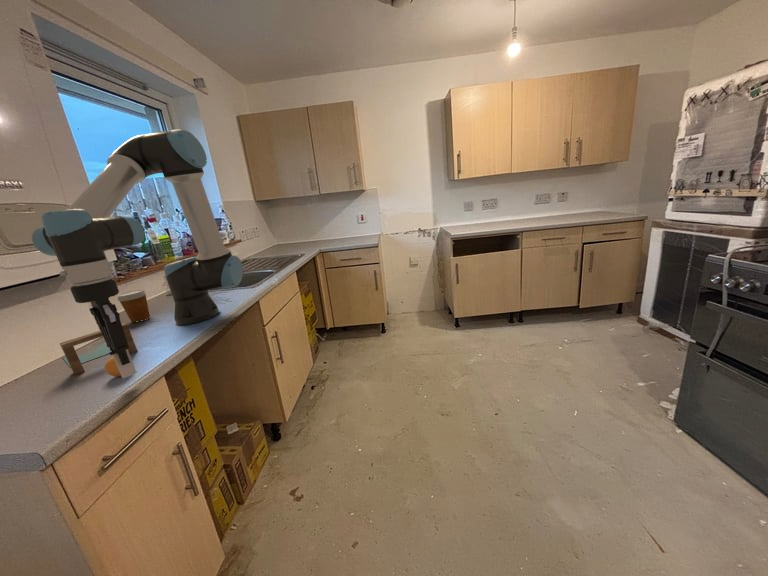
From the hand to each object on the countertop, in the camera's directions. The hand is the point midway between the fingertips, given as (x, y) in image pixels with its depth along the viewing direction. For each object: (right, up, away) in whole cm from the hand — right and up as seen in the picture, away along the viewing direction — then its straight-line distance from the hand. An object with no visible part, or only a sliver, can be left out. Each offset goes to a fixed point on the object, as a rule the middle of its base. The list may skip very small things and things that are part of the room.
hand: (129, 374), depth 75 cm
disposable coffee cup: (-39, +8, +54) cm, 67 cm away
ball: (-8, +1, +6) cm, 10 cm away
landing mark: (-31, 0, +25) cm, 40 cm away
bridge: (-20, -1, +17) cm, 26 cm away
